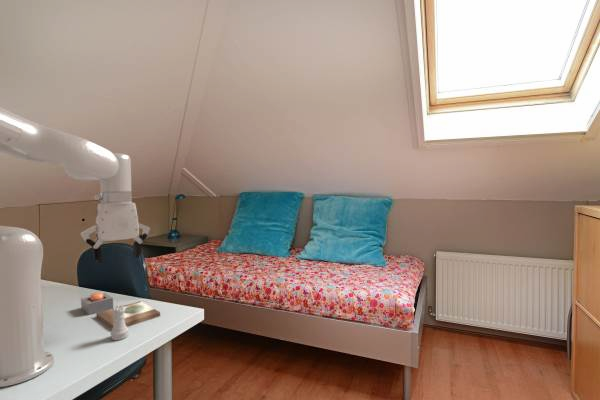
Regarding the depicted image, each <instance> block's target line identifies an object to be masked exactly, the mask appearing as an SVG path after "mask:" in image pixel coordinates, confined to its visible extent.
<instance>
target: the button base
mask: <svg viewBox="0 0 600 400" xmlns="http://www.w3.org/2000/svg"><path fill="white" fill-rule="evenodd" d="M102 293H103V299H101V300H97V301H93V302H91V301H90V296H87V297H82V298H80V305H81V306H80V307H81V310H82V311H83V312H84V313H86V314H87V315H88V316H89V315H90V316H91V315H93V314H96V313H99V312H102V311H106V310H110V309H113V308H114V297H112V296H110V295H109V294H107V293H105V292H102Z"/></svg>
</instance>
